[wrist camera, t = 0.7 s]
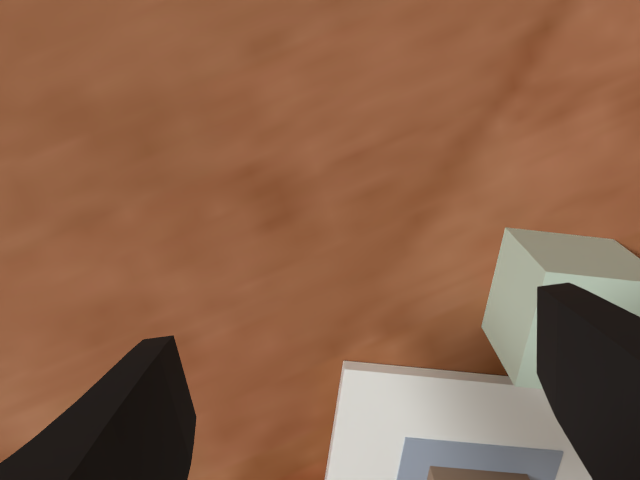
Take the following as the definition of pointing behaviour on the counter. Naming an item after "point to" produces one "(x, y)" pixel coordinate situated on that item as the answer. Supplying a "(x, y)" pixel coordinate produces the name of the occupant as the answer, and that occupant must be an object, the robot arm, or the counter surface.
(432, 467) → the walnut block
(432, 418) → the white square board
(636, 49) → the counter surface
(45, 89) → the counter surface
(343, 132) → the counter surface
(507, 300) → the green block
